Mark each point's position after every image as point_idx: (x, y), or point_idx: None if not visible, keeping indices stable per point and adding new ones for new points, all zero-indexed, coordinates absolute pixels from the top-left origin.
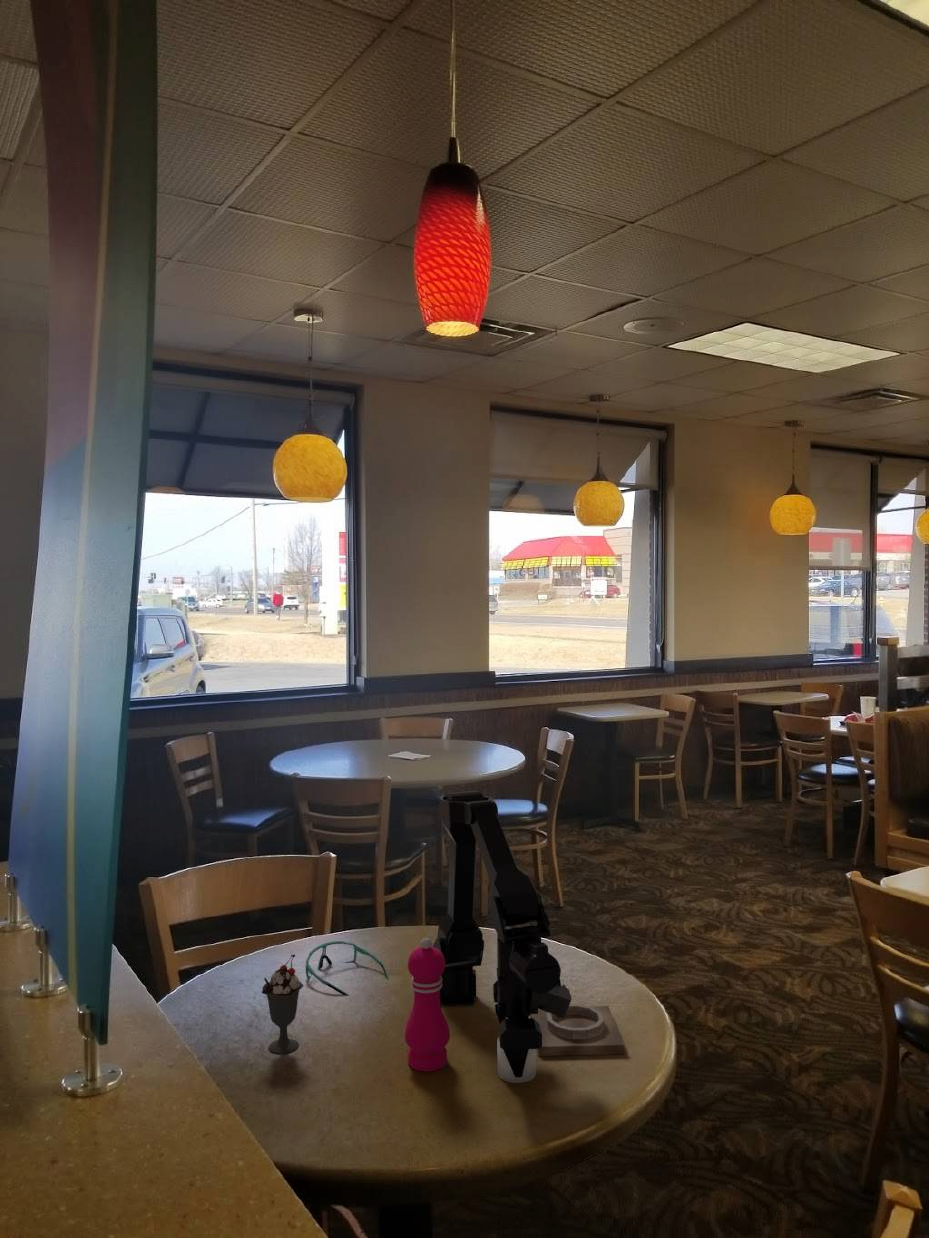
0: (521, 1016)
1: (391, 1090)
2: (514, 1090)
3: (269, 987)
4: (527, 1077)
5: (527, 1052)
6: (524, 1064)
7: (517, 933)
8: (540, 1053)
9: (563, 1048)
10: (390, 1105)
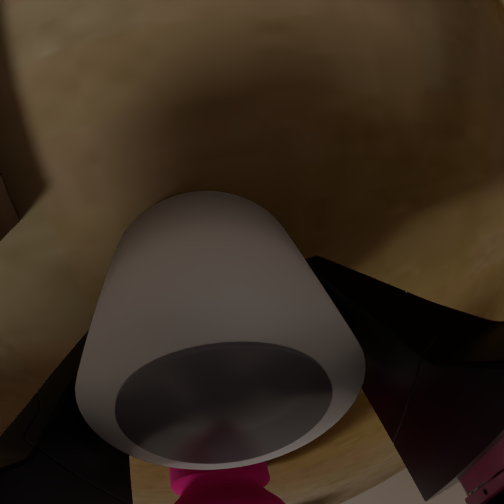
0: (35, 500)
1: (339, 455)
2: (352, 255)
3: None
4: (280, 226)
5: (462, 313)
6: (375, 280)
7: None
8: (10, 217)
9: None
10: (385, 435)
